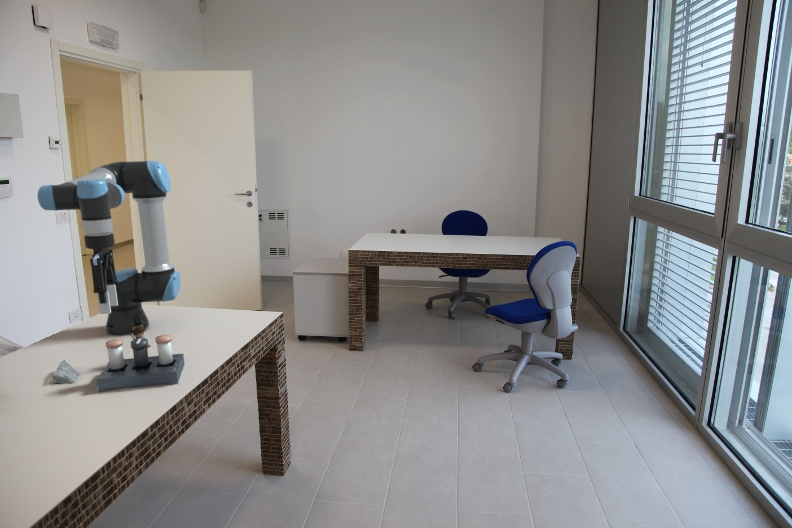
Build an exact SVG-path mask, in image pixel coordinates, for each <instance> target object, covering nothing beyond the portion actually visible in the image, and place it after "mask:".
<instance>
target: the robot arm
mask: <svg viewBox="0 0 792 528" xmlns="http://www.w3.org/2000/svg"><path fill="white" fill-rule="evenodd" d="M170 191H171V179H170V175H169V172H168V169H167V168H166V166H165V164H164V163H162V162H160V161H154V160H152V161H151V160H145V161H143V160H139V161H116V162H111V163H107V164H103V165H100V166H98V167H95V168H93V169H91V170H90V171H89V172H88V173H87V174H86V175H83V176H80V177H77V178H73V179H71V180H69V181H66V182H62V183H61V184H49V185H48V184H47V185H41V186H40V187H39V188H38V190H37V201H38V204H39V206H40V207H41V209H43V210H45V211H55V212H56V211H75V210H77V211H80V217H81V222H80V226H81V227H82V230H83V234H84V236H83V238H84V247H85V248H86V249H89V250H92V251H93V252H92V257H90V259H89V262H90V266H91V277H92V283H93V290H92V291H93V294H96V295H97V300H98V307H99V314H100V315H103V314H105V315H106V314H107V318H106V324H105V330H106V333H108V334H109V335H117V336H118V335H119V336H120V335H128V334H129V335H130V334H132V332H131V331H132V329H133V327H134V326H135V325H136V326H137V325H143V326H144V325H145V326H144V328H146V329H148V328H149V326H150V322H149V318H148V316H147V314H146V312H145V311H144V308H143V305H142V304H143V303H154V302H155V303H157V302H158V303H159V302H162V303H163V302H170V301H175V300H176V299H177V298H178V295H179V294H180V293H179V292H180V289H181V273H180V271H178V270H176V269H175V265H173V264H172V263H171V262H170V257H169V246H168V239H167V238H168V237H167V230H166V221H165V220H166V219H165V212H164V210H165V209H164V202H163V201H164V200H165V199H167V193H170ZM126 194H131V196H132V197H131V198H132V200H134V201H136V203H137V207H138V208H137V209H138V215H139V224H140V232H141V241H142V248H143V249H142V250H143V258H144V264H145V265H143V267H142V268H141V272H139V270H138V269H137V268H134V267H133V268H126V269H125V268H124V269H119V270H116V267H115V265H116V264H115V261H114V260H115V259H114V251H113V249H110V248H113V247H114V246H115V245H116V241H115V234H114V233H113V231H114V228H113V227H114V226H113V220H112V214H111V213H112V212H111V210H112V209H116V208H118V207H119V206H121V205H122V204H123V203H124V201H125V199H126V196H125V195H126ZM132 321H133V322H132ZM140 321H141V322H140ZM143 321H144V322H143ZM146 326H147V327H146ZM129 330H130V331H129Z"/></svg>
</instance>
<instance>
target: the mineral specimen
mask: <svg viewBox="0 0 792 528" xmlns="http://www.w3.org/2000/svg"><path fill="white" fill-rule="evenodd" d="M78 376H80V371H78V370H76V369H75V368H74V367H73V366H72V365H70V363H68V362H66V360H65V359H64V360H62V361H61V362H60V363H59V365H58V366H57V368H56V370H55V372H54V373H53V375H52V379H53V380H52V383H54V384H56V383H57V384H72V383H75V382H76V380H77V379H78Z"/></svg>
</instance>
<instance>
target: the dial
mask: <svg viewBox="0 0 792 528" xmlns="http://www.w3.org/2000/svg"><path fill="white" fill-rule="evenodd" d="M134 339H135V338H134ZM134 339H132V340H131V341H130V343H129V344H130V348H131V349H132V354H133V358H134V362H135V366H136V367H143V366H146V365H148V364H149V358H148V357H149V352H148V349H147V346H148V345H149V339H147V338H146V337H145V338H141V339H135V340H134Z"/></svg>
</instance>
